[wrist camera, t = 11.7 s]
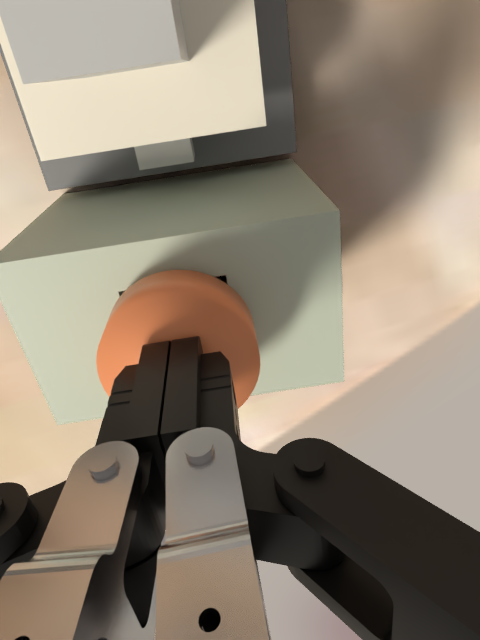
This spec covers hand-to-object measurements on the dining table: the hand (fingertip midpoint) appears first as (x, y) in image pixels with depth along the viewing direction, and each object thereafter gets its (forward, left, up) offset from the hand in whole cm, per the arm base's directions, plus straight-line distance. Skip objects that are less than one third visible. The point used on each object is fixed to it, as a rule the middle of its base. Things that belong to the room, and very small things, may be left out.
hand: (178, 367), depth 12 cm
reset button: (0, 0, -7) cm, 7 cm away
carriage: (0, -9, -8) cm, 12 cm away
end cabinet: (0, 0, -10) cm, 10 cm away
